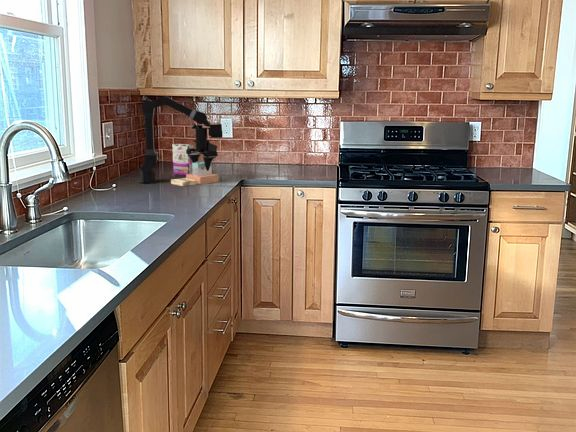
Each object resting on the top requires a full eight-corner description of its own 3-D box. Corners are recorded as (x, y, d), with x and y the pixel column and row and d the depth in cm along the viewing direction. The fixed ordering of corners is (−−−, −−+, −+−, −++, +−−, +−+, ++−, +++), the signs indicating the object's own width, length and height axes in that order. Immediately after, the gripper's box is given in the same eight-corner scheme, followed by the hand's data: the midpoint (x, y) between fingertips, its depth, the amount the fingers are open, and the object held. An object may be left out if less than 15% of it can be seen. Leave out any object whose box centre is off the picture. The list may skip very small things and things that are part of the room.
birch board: (182, 186, 269) (182, 182, 269) (171, 183, 276) (170, 179, 276) (196, 184, 275) (196, 180, 274) (184, 181, 282) (184, 177, 281)
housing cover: (211, 166, 282) (211, 161, 281) (198, 168, 276) (198, 162, 276) (205, 165, 285) (205, 160, 285) (192, 166, 280) (192, 161, 279)
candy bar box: (195, 175, 304) (194, 144, 300) (189, 176, 300) (188, 145, 296) (178, 173, 309) (177, 143, 305) (172, 174, 305) (171, 144, 301)
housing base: (211, 174, 283) (211, 166, 282) (198, 176, 278) (198, 167, 277) (205, 173, 286) (205, 165, 286) (192, 174, 281) (192, 166, 280)
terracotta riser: (200, 184, 275) (200, 177, 274) (186, 181, 283) (186, 174, 283) (218, 181, 282) (218, 175, 282) (204, 179, 291) (204, 172, 290)
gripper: (226, 138, 277) (226, 170, 280) (203, 136, 290) (204, 166, 294) (207, 139, 269) (208, 172, 273) (185, 137, 283) (186, 168, 286)
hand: (202, 169), depth 282 cm, fingers open, 9 cm apart
